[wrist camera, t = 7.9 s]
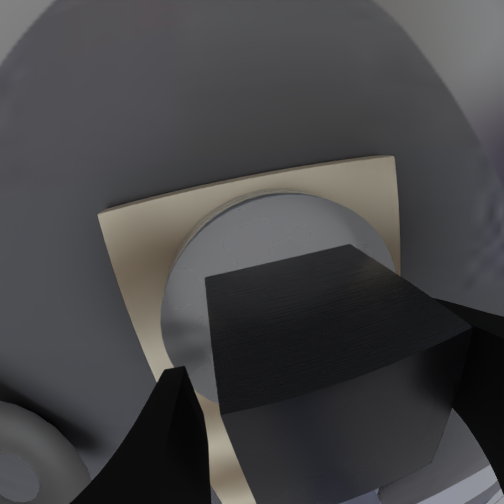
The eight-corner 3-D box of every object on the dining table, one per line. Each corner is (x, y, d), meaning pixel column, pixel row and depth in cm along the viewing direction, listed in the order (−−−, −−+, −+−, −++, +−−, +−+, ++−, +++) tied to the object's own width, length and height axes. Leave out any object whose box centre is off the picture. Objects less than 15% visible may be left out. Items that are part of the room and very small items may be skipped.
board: (373, 455, 20) (379, 466, 19) (225, 498, 19) (227, 510, 18) (379, 155, 13) (394, 156, 12) (105, 208, 12) (97, 214, 11)
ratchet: (362, 470, 19) (385, 513, 15) (245, 504, 18) (256, 553, 14) (366, 172, 12) (438, 185, 8) (137, 217, 11) (106, 255, 7)
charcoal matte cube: (354, 358, 12) (431, 462, 7) (235, 391, 12) (265, 524, 6) (349, 243, 11) (472, 326, 5) (204, 277, 10) (220, 415, 5)
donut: (-29, 392, 13) (-86, 497, 4) (-26, 360, 13) (-101, 474, 3) (97, 464, 16) (82, 588, 7) (112, 441, 16) (96, 583, 6)
